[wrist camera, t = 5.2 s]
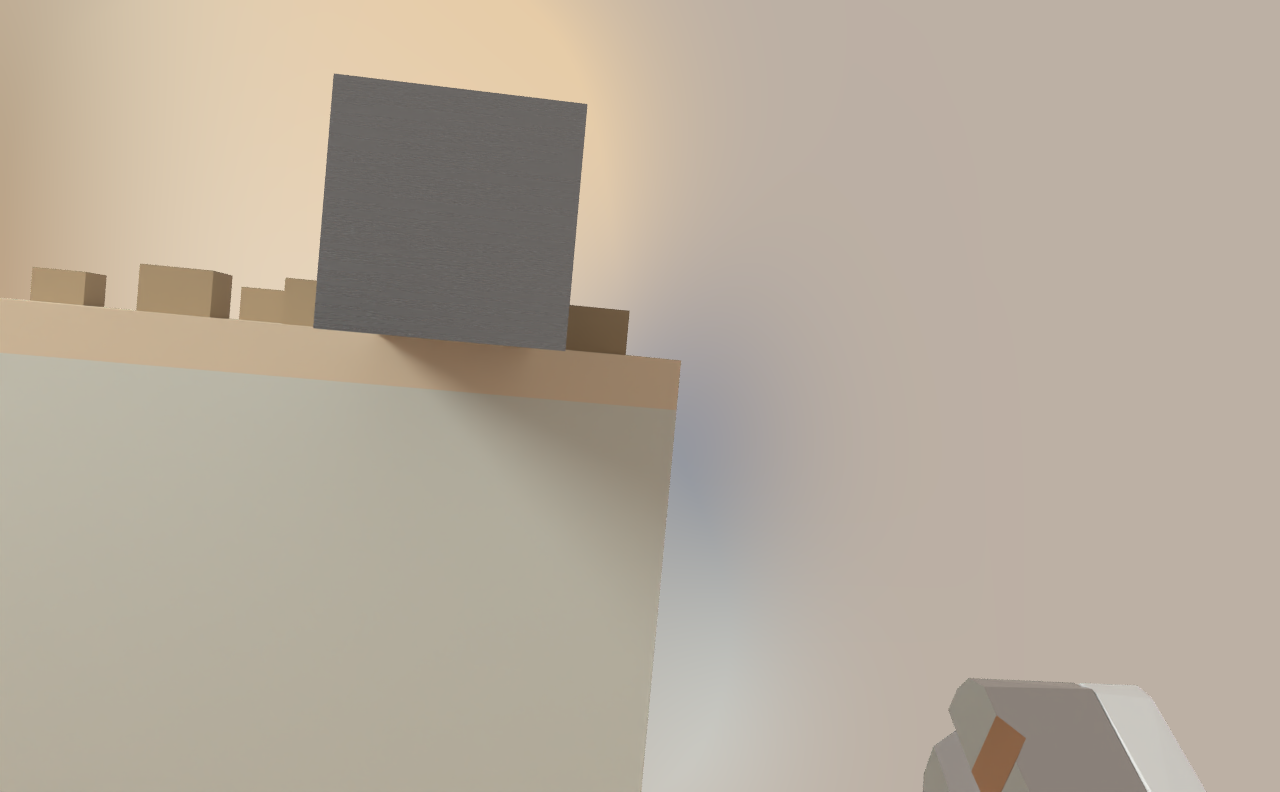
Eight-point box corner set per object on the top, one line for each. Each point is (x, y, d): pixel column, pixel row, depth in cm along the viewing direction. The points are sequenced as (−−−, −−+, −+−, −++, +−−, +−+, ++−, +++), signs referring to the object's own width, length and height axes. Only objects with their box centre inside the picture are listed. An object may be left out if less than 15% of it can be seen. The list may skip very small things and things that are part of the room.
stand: (565, 1606, 25) (685, 310, 24) (-394, 1661, 22) (-302, 214, 21) (526, 1042, 44) (590, 324, 44) (17, 1038, 42) (73, 275, 41)
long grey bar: (565, 350, 14) (587, 104, 14) (313, 328, 14) (333, 73, 14) (507, 343, 42) (514, 259, 42) (421, 336, 42) (428, 250, 42)
